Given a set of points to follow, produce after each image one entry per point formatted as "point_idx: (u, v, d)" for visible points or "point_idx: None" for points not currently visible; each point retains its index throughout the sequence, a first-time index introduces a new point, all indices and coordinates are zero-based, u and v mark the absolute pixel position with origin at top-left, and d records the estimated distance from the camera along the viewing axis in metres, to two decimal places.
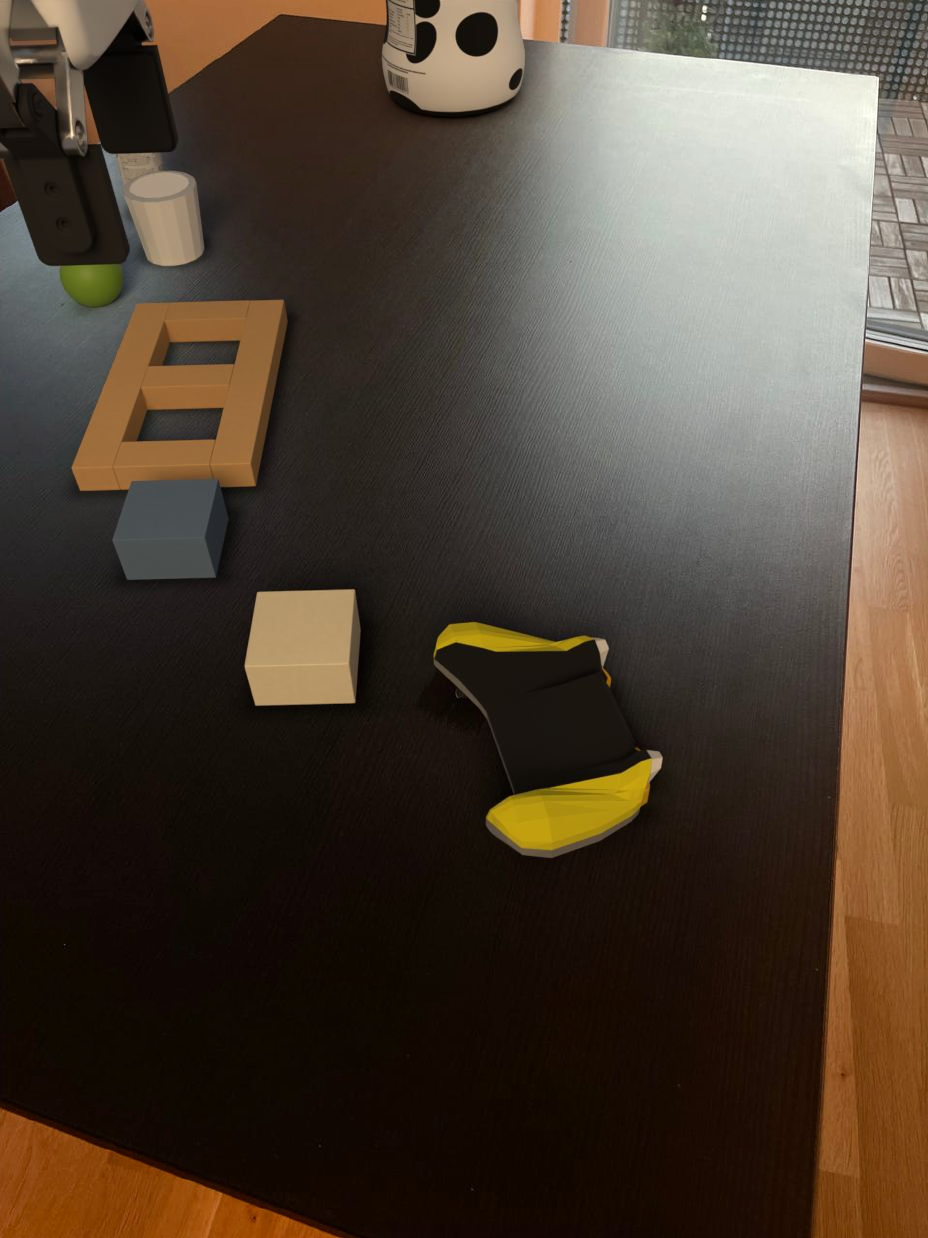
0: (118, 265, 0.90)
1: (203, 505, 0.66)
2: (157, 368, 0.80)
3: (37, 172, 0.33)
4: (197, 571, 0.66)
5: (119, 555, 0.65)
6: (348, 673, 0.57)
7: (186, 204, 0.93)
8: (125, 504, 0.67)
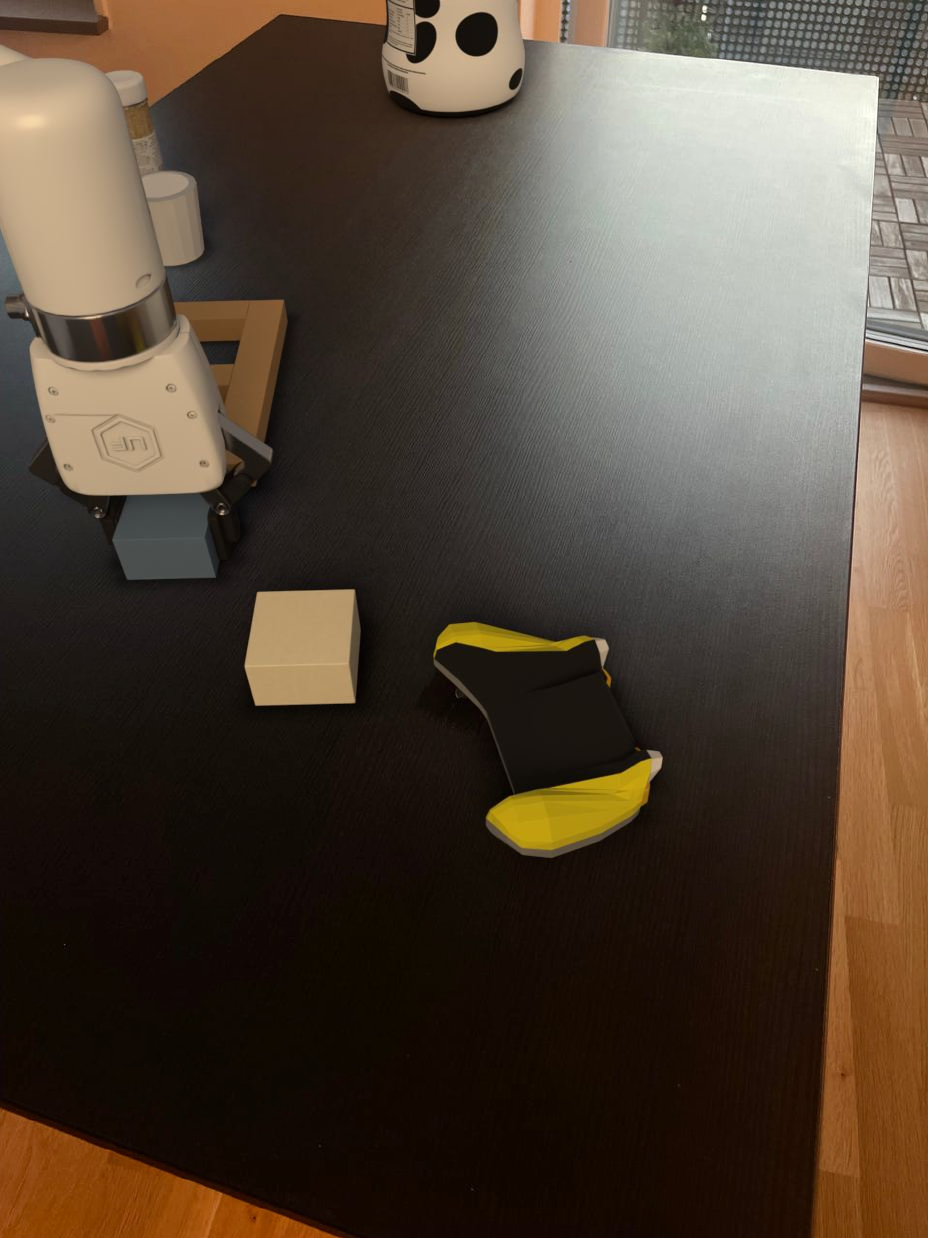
0: None
1: (203, 505, 0.66)
2: None
3: (231, 509, 0.66)
4: (197, 571, 0.66)
5: (119, 555, 0.65)
6: (348, 673, 0.57)
7: (186, 204, 0.93)
8: (125, 504, 0.67)
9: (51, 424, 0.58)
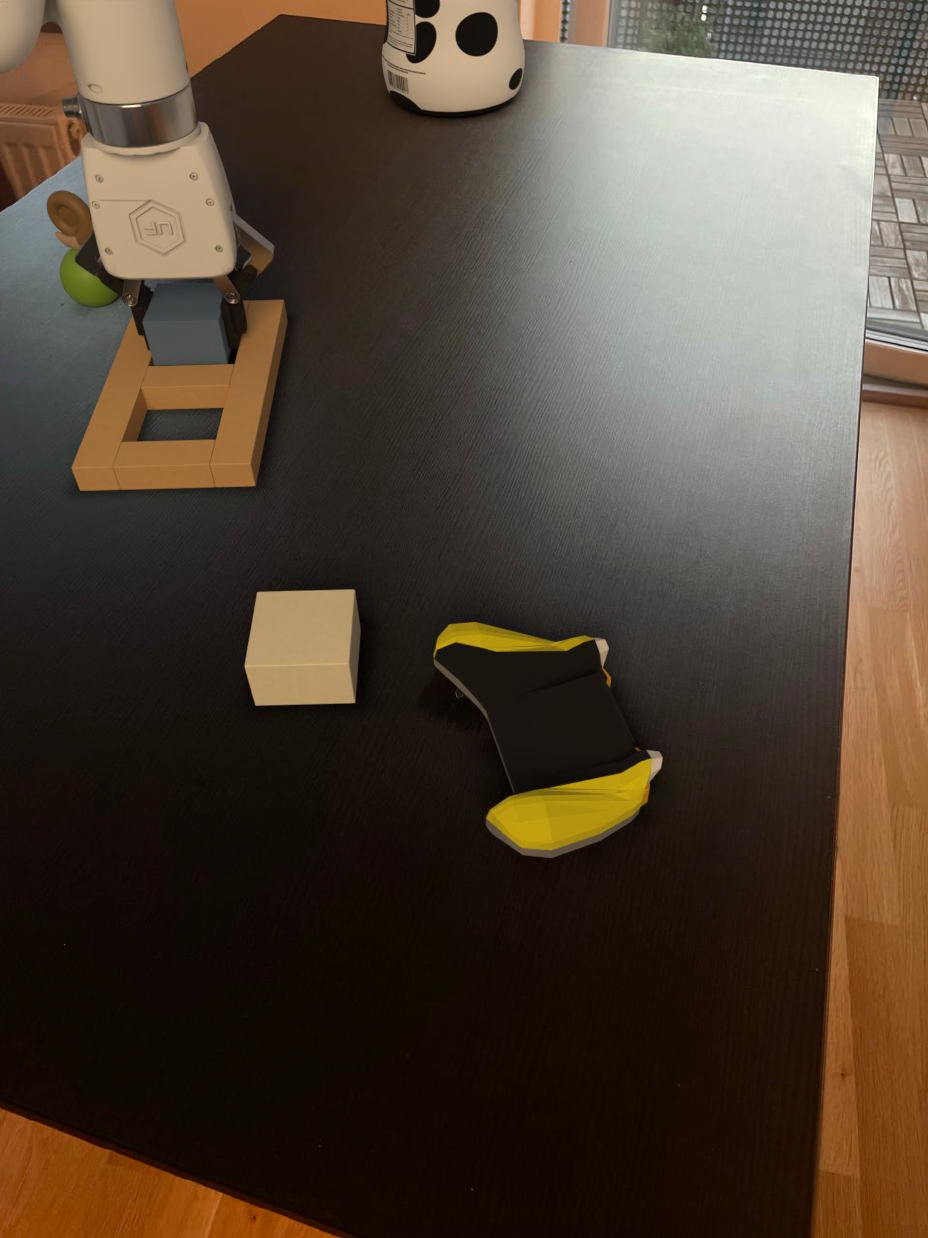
0: None
1: (216, 299, 0.80)
2: (157, 368, 0.80)
3: (240, 301, 0.80)
4: (211, 353, 0.81)
5: (147, 337, 0.79)
6: (348, 673, 0.57)
7: None
8: (152, 298, 0.81)
9: (96, 209, 0.72)
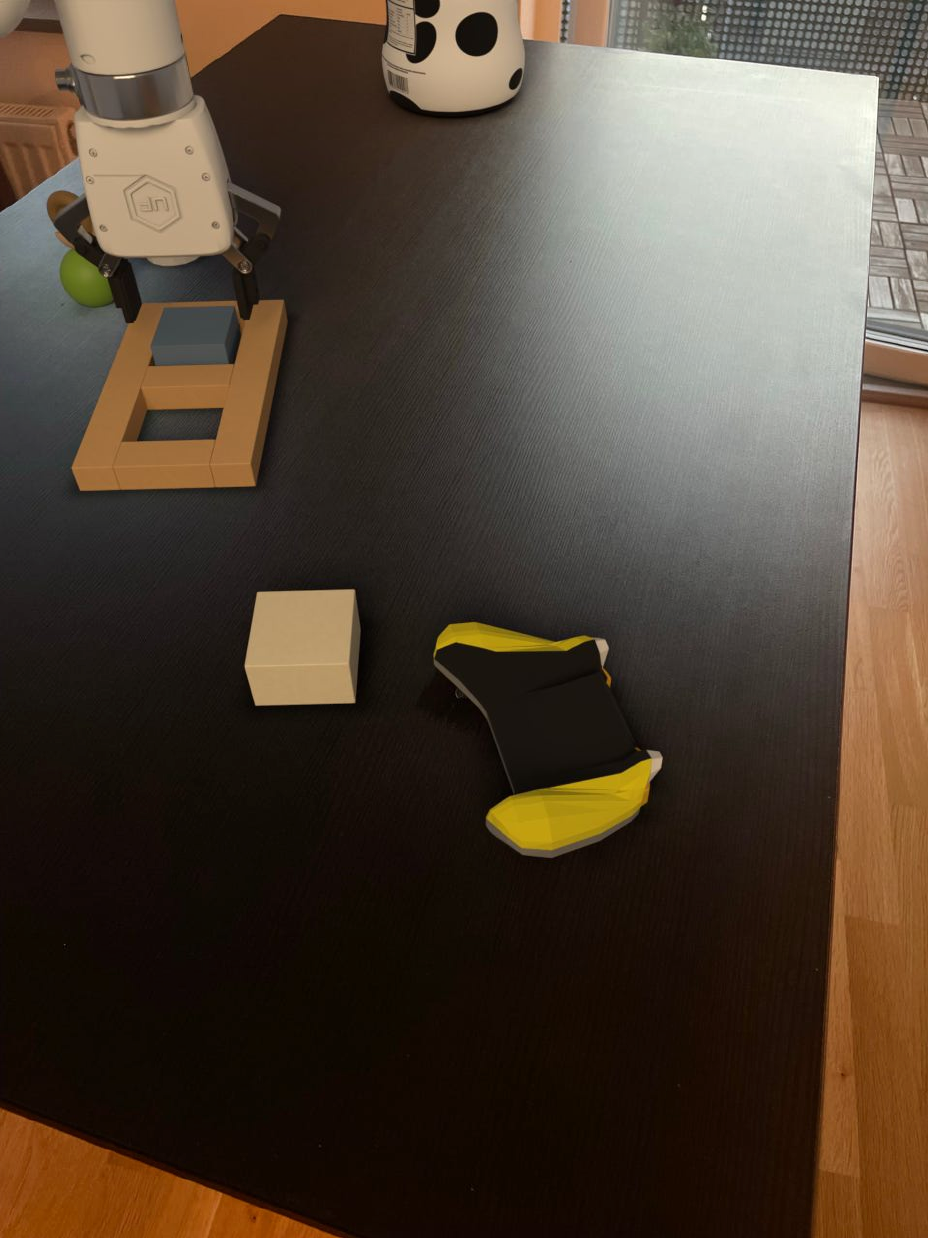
0: None
1: (222, 323, 0.82)
2: (157, 368, 0.80)
3: (252, 271, 0.78)
4: None
5: (155, 360, 0.81)
6: (348, 673, 0.57)
7: None
8: (159, 322, 0.82)
9: (90, 185, 0.71)
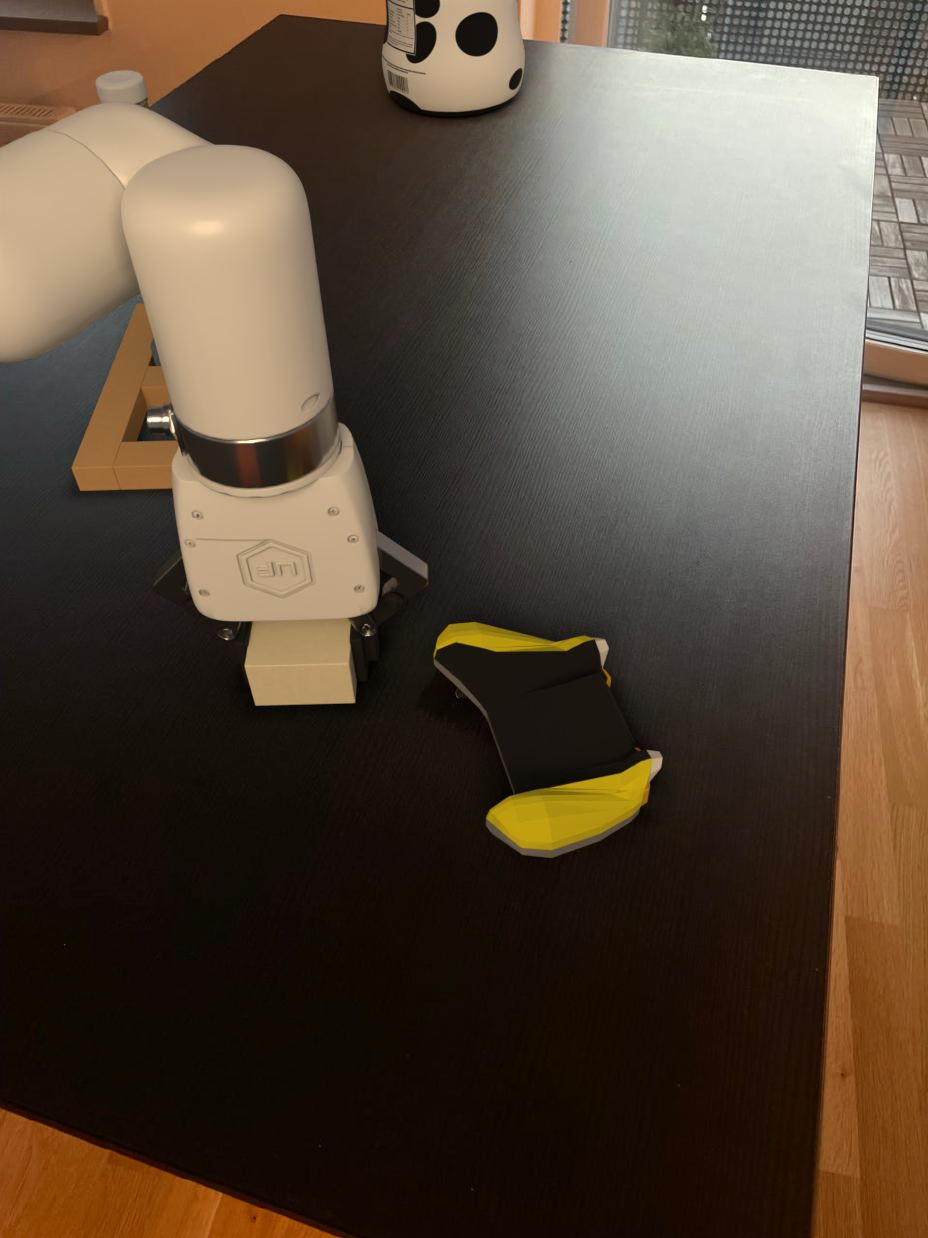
0: None
1: None
2: (157, 368, 0.80)
3: None
4: None
5: (155, 360, 0.81)
6: (348, 673, 0.57)
7: None
8: None
9: (190, 549, 0.51)
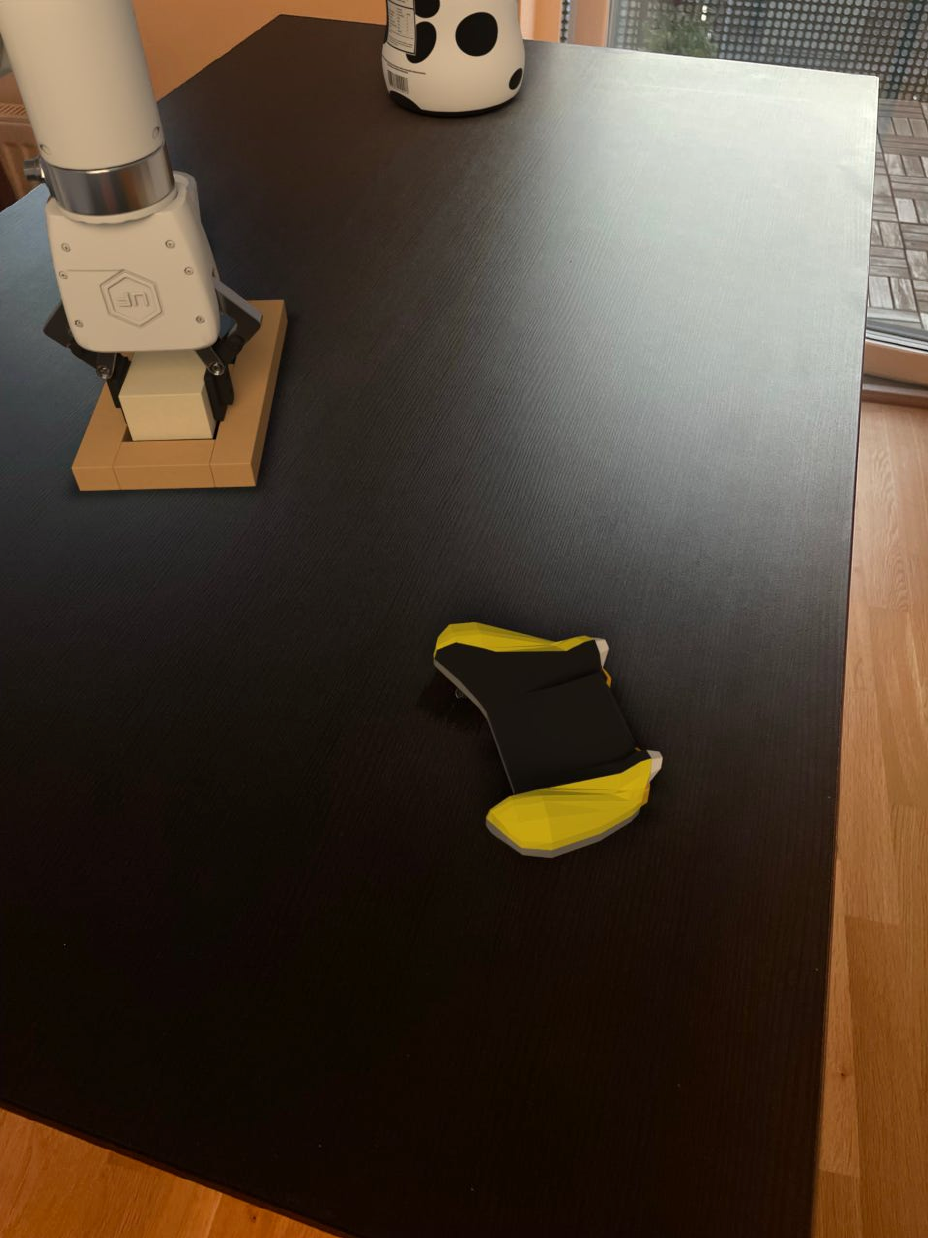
0: None
1: (222, 323, 0.82)
2: None
3: (225, 372, 0.73)
4: None
5: None
6: (202, 403, 0.72)
7: None
8: None
9: (63, 280, 0.65)
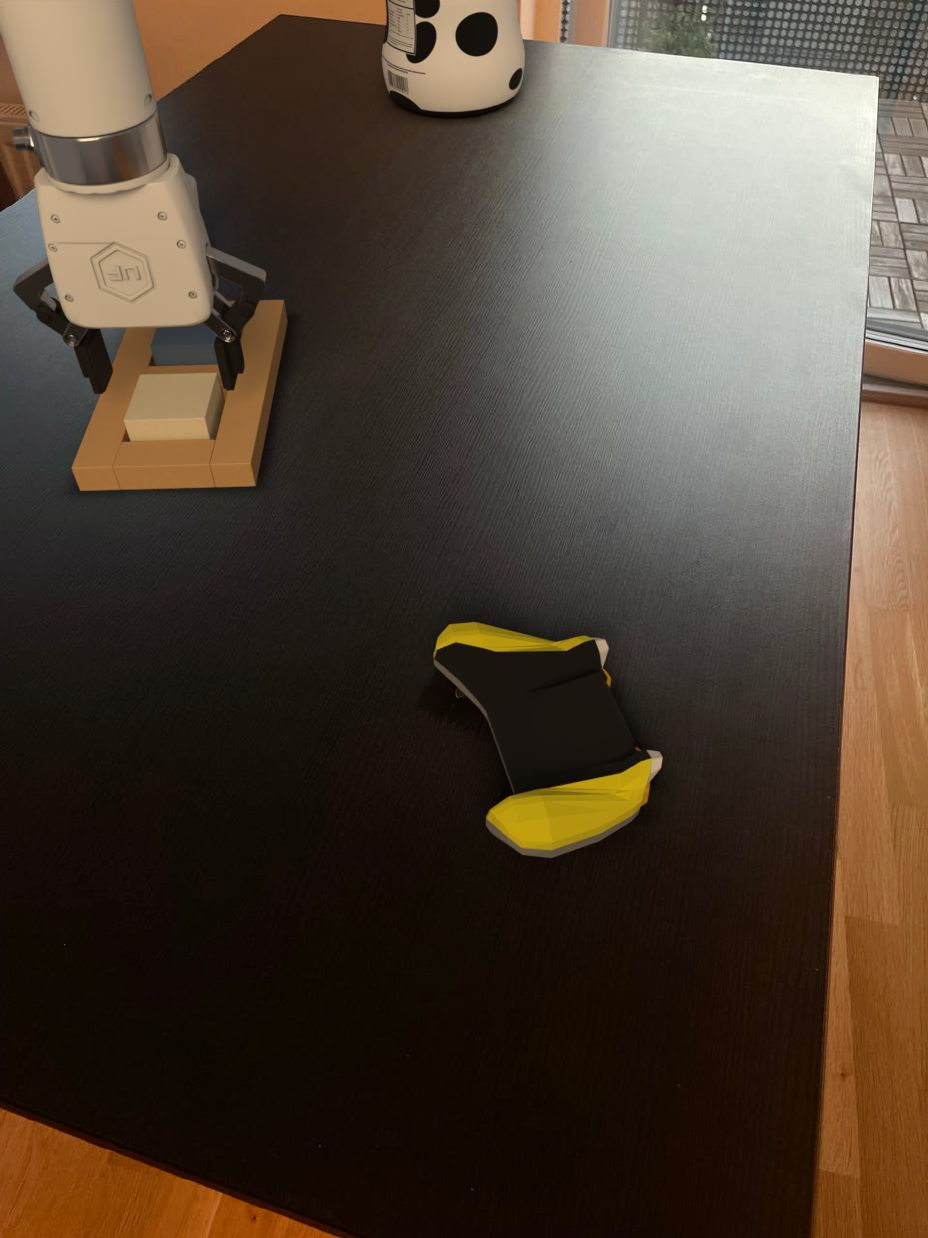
0: None
1: None
2: (157, 368, 0.80)
3: (236, 339, 0.71)
4: None
5: (155, 360, 0.81)
6: (205, 427, 0.74)
7: None
8: None
9: (53, 253, 0.64)
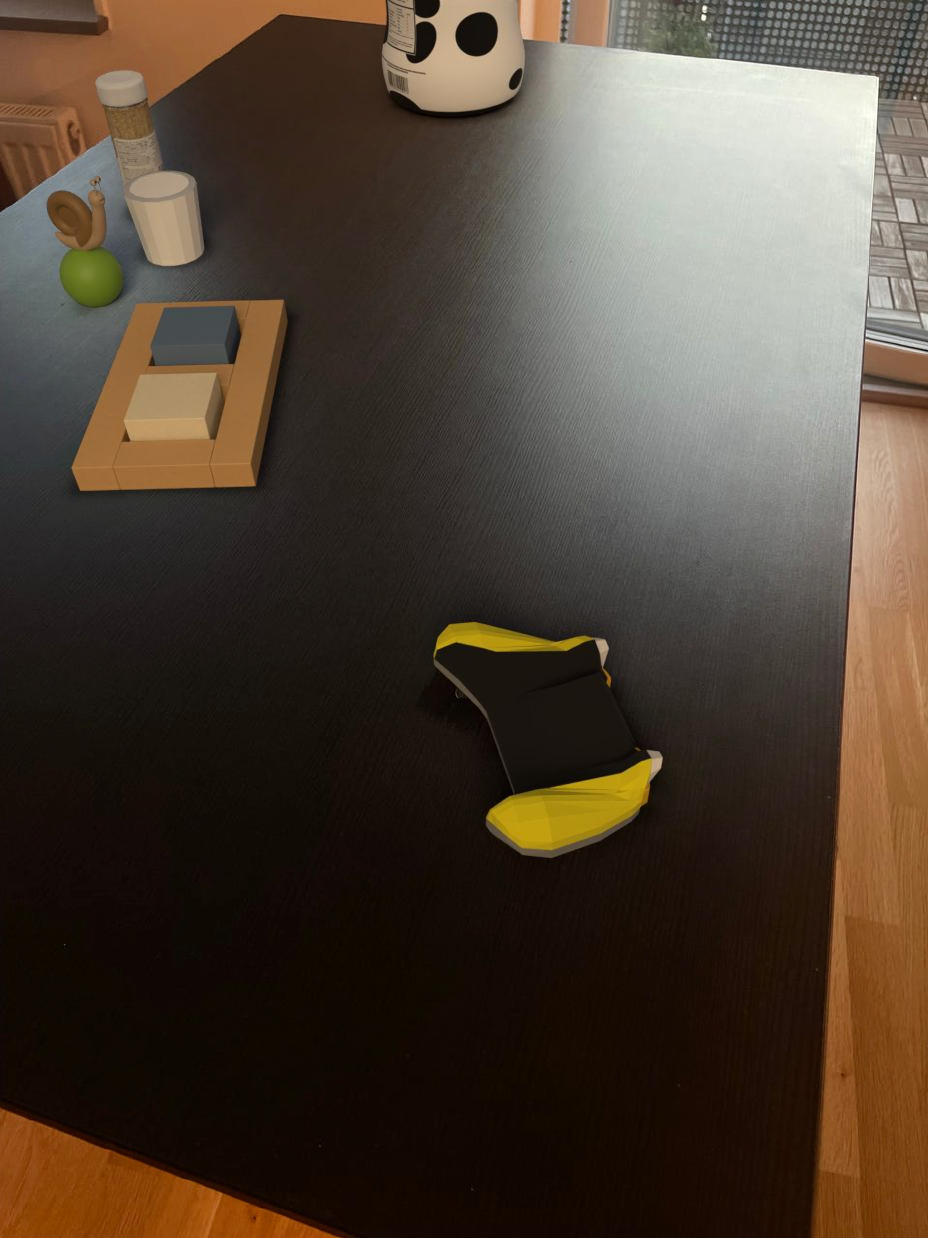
0: (118, 265, 0.90)
1: (222, 323, 0.82)
2: (157, 368, 0.80)
3: None
4: None
5: (155, 360, 0.81)
6: (205, 427, 0.74)
7: (186, 204, 0.93)
8: (159, 322, 0.82)
9: None
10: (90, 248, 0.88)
